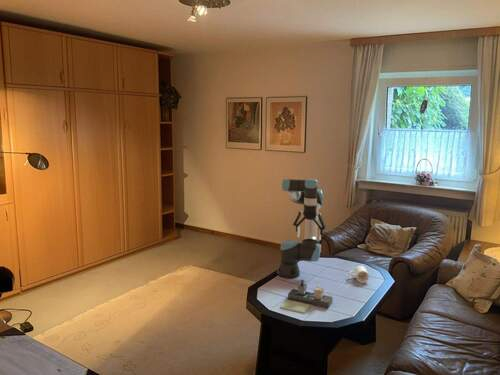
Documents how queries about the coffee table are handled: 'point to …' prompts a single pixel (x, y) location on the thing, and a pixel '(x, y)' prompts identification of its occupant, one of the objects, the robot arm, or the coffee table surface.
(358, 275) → the mug
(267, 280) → the coffee table surface
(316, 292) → the plug
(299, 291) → the panel
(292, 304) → the tray
